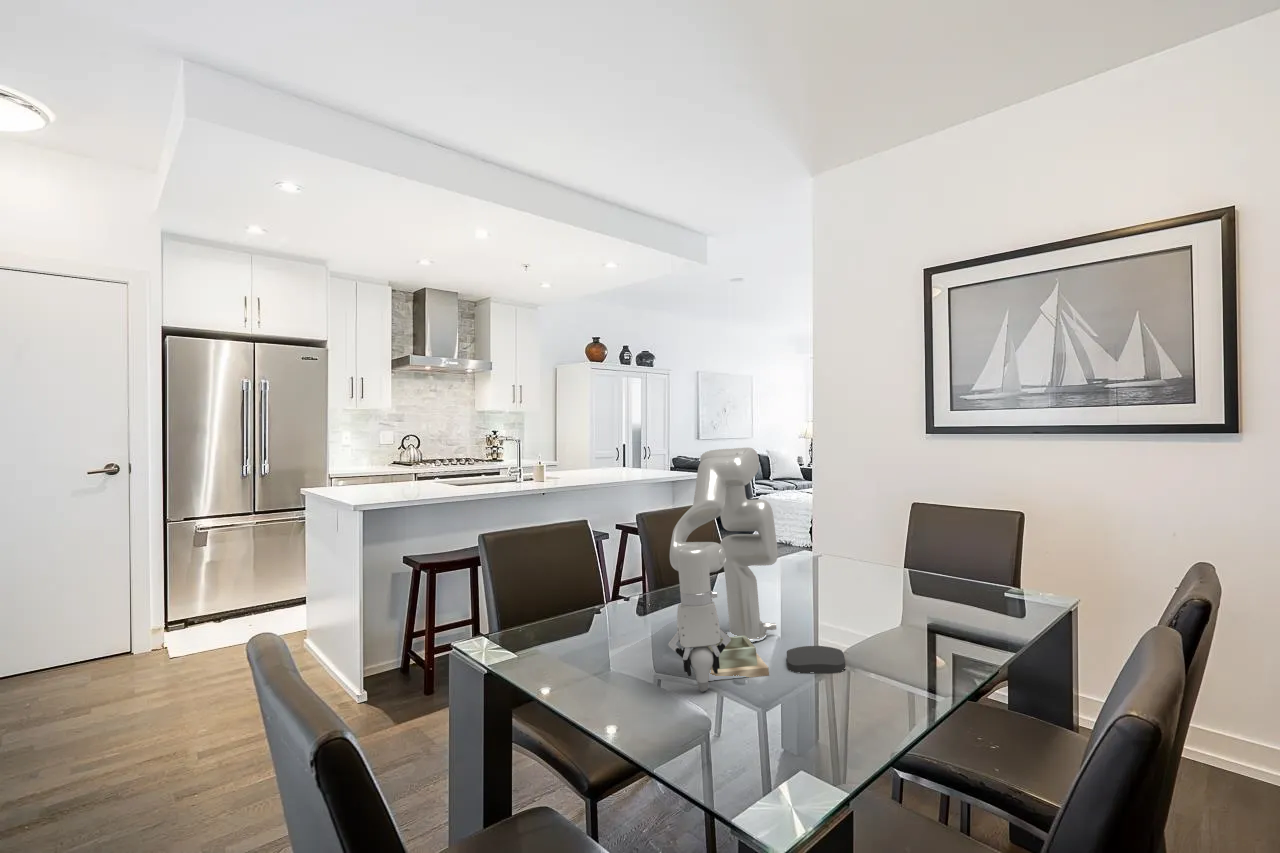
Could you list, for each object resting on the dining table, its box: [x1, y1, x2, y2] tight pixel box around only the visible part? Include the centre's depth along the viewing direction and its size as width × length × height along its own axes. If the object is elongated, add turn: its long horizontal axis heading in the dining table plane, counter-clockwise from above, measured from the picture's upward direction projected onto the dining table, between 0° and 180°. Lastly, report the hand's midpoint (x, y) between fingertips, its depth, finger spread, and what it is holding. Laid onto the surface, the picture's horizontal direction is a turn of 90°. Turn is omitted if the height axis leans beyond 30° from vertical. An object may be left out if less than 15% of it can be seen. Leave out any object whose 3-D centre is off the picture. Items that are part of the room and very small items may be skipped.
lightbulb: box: [688, 646, 714, 693], centre depth 151 cm, size 6×6×11 cm
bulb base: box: [706, 635, 770, 678], centre depth 166 cm, size 16×16×6 cm
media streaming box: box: [786, 645, 847, 674], centre depth 164 cm, size 15×15×3 cm
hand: (702, 672), depth 151 cm, fingers closed on lightbulb, 5 cm apart
